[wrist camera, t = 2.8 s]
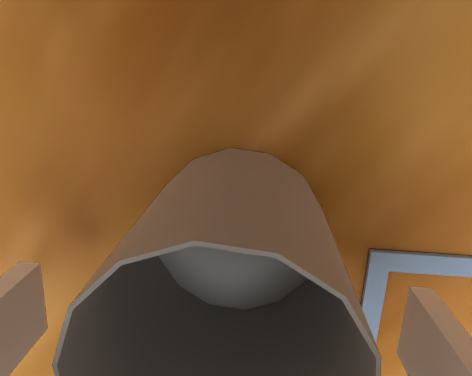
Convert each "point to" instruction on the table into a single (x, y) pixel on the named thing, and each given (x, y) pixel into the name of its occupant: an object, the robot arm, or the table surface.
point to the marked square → (405, 263)
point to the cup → (222, 284)
